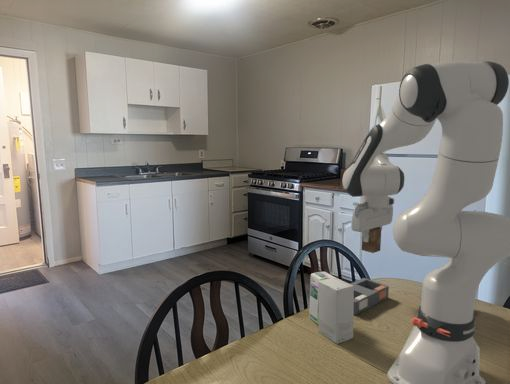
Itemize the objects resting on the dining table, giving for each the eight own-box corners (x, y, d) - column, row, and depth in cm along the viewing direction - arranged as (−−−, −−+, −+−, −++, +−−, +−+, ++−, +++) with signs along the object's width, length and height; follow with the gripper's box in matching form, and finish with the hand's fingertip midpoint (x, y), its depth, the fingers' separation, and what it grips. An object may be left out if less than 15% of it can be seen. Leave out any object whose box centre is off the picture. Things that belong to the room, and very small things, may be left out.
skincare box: (353, 339, 99) (356, 286, 97) (335, 345, 96) (337, 290, 94) (333, 325, 107) (335, 275, 105) (316, 331, 104) (317, 280, 101)
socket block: (355, 316, 112) (356, 302, 112) (329, 304, 120) (329, 291, 120) (388, 298, 125) (389, 285, 125) (363, 289, 133) (363, 277, 132)
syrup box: (308, 317, 112) (309, 273, 109) (323, 313, 114) (325, 270, 112) (319, 326, 106) (320, 279, 104) (335, 322, 109) (336, 276, 107)
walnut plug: (373, 253, 121) (374, 230, 120) (361, 250, 124) (362, 227, 123) (380, 250, 124) (381, 228, 123) (368, 247, 127) (369, 225, 126)
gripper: (364, 205, 113) (362, 247, 114) (397, 199, 126) (394, 237, 128) (347, 203, 117) (345, 243, 119) (380, 196, 130) (378, 233, 132)
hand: (371, 240), depth 124 cm, fingers closed on walnut plug, 4 cm apart
